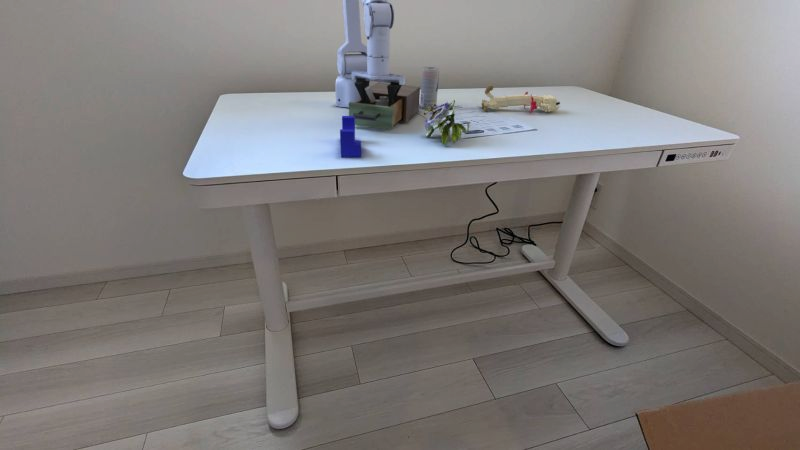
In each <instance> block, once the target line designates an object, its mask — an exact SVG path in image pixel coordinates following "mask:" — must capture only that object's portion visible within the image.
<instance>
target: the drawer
mask: <svg viewBox="0 0 800 450" xmlns="http://www.w3.org/2000/svg"><path fill="white" fill-rule="evenodd" d="M374 97H375V100H380V96H374ZM368 102H369V103H368V104H364V103H362V101H361V99H359V100H357V101H355V102H349V108H348V116H355V126H360V127H367V128H374V129H379V130H380V129H381V130H388V131H393V130H394V126H395V125H396V124H397V123H398V121H399V120H401V119H402V118H403V113H404V99H400V98H396V99H395V103H394V104H393V105H391V106H390V107H388V106H380V105H376V101H375V102H373V103H371V101H370V99H369V97H368Z"/></svg>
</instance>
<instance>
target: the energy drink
mask: <svg viewBox="0 0 800 450" xmlns="http://www.w3.org/2000/svg"><path fill="white" fill-rule="evenodd" d="M439 69H440V68H438V67H434V66H424V67H422V70H421V81H420V82H421V84H420V98H419V107H420V108H421V109H425V110H426V109H427V108H428V106H430V105H431V104H433V103H435V105H434V107H433V110H434V109H436V107H437V102H438V91H439V81H440V80H439V79H440V70H439Z"/></svg>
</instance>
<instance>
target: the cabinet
mask: <svg viewBox="0 0 800 450" xmlns="http://www.w3.org/2000/svg"><path fill="white" fill-rule="evenodd" d="M389 84H390V83H385V82H376V83H374V84H372V85H371V86H369V87H370V89H371V91H372V93H373V95H374V96H386V97H388V89H387V86H388V85H389ZM396 98H400V99H404V113H403V118H402V119H401V120H399V121H398V122H397V123H399V124H407V123H408V122H409V121H410V120H411V119H412V118H413V117H415V116H416V115H417V114H418V113H419V112H420V98H421V86H416V85H415V86H414V85H405V84H404V85H402V86H401V88H400V90H399V92H398V94H397V97H396Z"/></svg>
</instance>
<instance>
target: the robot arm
mask: <svg viewBox="0 0 800 450" xmlns="http://www.w3.org/2000/svg"><path fill="white" fill-rule="evenodd" d="M360 2H361V5H362V8H363V15H362V17H363V25H364V34H365V36H366V44H364V43H363V41H362V27H361V13H360ZM342 11H343V25H344V26H343V27H344V39H345V42H344V43H343V44H342V45H341V46H340V47H338V49H337V52H336V54H337V56H336V57H337V58H336V67H337V72H338V74H339V75H338V76H337V77H336V79H335V84H334V87H335V88H334V89H335V104H334V106H335V107H340V108H348V109H349V102H355V101H357V100H359V99H361V101H362V103H364V104H368V103H369V102H368V95H367V93H366V90H365V87H367V86H369V87H370V82H376V83H388V84H389V85H388V86H387V89H388V107H390V106H391V105H393V104H394V103H395V99H396V97H397V94H398V92H399V90H400V88H401V86H402V85H405V84H406V75H399V74H395V73H390V47H391V46H390V43H391V42H390V41H391V29H392V28H393V27H394V22H395V10H394V6H393V3H392V2H391V1H389V0H342Z"/></svg>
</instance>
